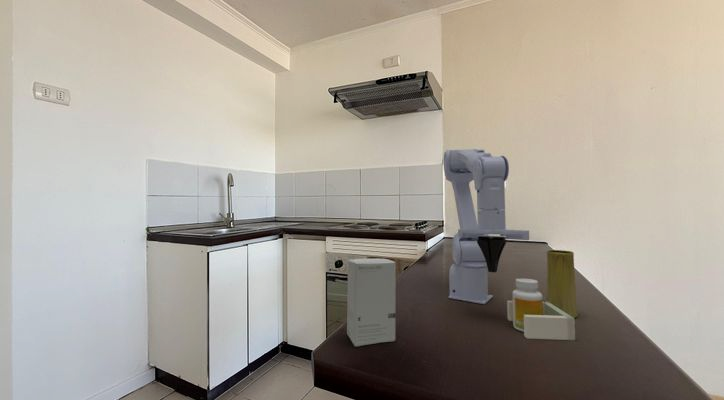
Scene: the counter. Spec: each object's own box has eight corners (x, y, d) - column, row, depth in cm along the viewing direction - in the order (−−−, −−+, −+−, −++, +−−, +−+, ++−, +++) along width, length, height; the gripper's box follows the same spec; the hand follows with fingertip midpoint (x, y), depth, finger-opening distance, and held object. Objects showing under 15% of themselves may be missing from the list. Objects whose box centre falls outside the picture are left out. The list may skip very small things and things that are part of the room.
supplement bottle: (549, 334, 57) (547, 283, 58) (519, 333, 58) (518, 283, 58) (535, 324, 63) (534, 277, 63) (509, 323, 63) (507, 277, 64)
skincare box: (354, 348, 53) (353, 263, 53) (346, 334, 59) (345, 258, 59) (397, 341, 55) (396, 260, 56) (385, 328, 61) (384, 255, 62)
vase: (567, 309, 71) (566, 249, 72) (584, 319, 65) (582, 253, 65) (540, 309, 72) (539, 249, 72) (554, 318, 66) (553, 253, 66)
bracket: (526, 338, 56) (526, 316, 56) (507, 318, 66) (507, 300, 66) (575, 340, 55) (574, 318, 55) (548, 320, 65) (547, 301, 65)
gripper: (452, 210, 68) (454, 270, 67) (524, 209, 59) (526, 278, 58) (463, 210, 74) (464, 266, 73) (530, 209, 65) (532, 272, 64)
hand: (492, 271), depth 66 cm, fingers closed
